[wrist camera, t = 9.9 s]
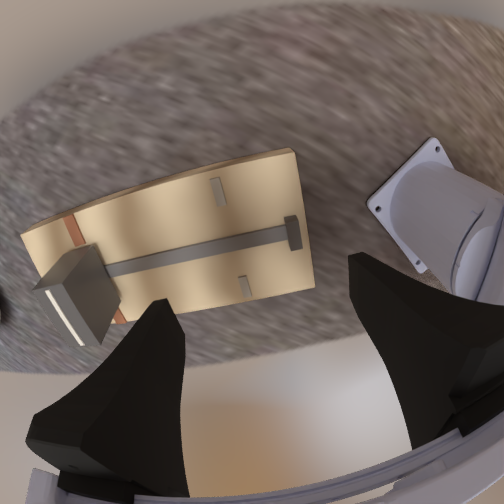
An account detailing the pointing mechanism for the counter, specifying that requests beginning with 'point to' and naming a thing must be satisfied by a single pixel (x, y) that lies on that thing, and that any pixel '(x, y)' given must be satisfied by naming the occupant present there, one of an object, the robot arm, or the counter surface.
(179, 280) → the slider panel
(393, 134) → the counter surface
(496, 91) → the counter surface
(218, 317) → the counter surface
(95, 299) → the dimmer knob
